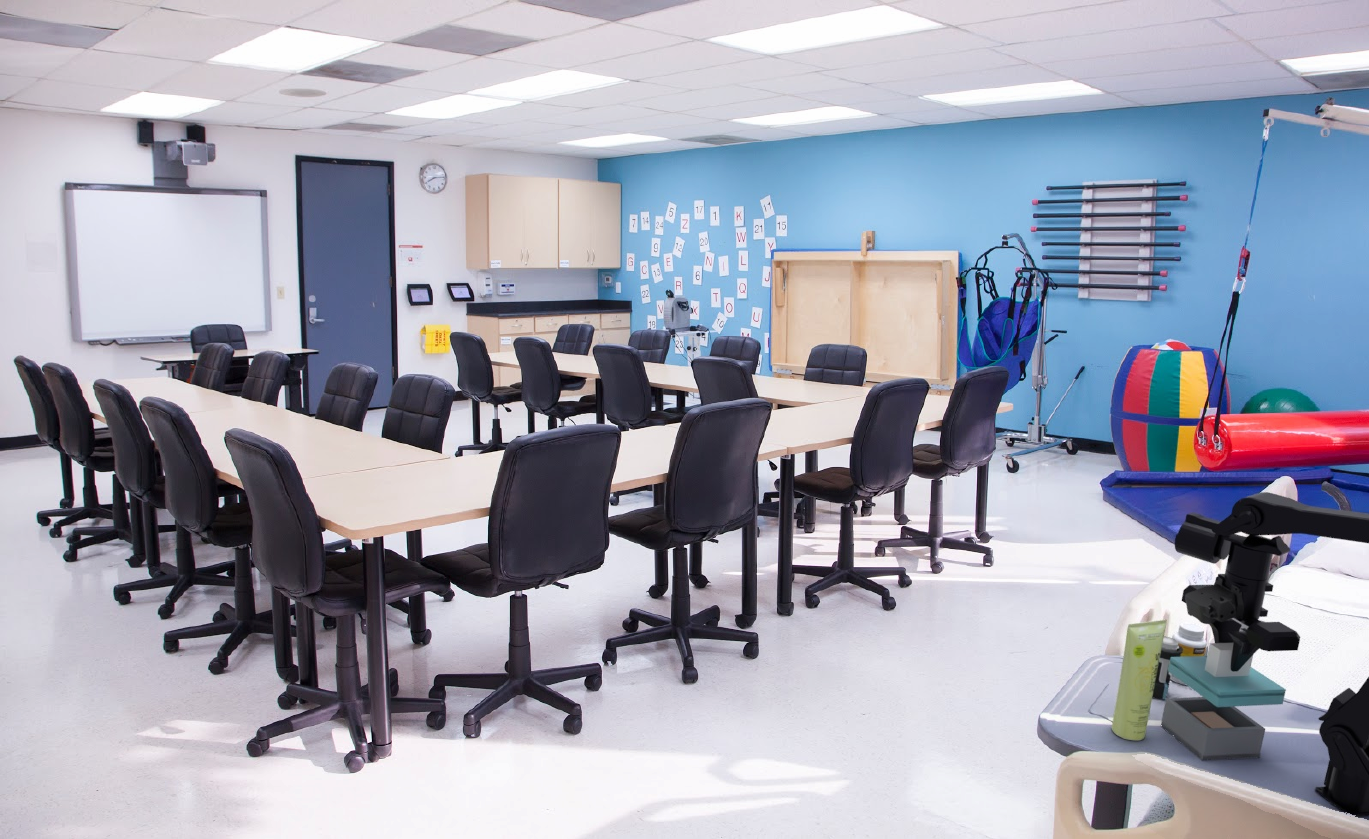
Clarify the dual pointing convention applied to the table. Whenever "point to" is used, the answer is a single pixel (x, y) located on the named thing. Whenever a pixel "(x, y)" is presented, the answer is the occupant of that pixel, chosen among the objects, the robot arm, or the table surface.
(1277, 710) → the table surface
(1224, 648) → the lid
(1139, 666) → the tube
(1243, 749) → the storage box
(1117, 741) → the table surface
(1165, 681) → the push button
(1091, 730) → the table surface
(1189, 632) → the supplement bottle
